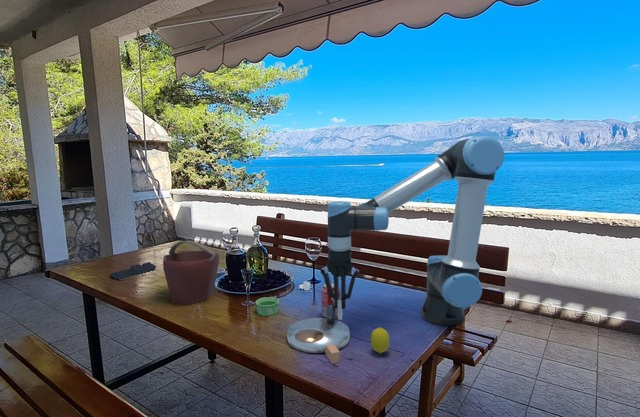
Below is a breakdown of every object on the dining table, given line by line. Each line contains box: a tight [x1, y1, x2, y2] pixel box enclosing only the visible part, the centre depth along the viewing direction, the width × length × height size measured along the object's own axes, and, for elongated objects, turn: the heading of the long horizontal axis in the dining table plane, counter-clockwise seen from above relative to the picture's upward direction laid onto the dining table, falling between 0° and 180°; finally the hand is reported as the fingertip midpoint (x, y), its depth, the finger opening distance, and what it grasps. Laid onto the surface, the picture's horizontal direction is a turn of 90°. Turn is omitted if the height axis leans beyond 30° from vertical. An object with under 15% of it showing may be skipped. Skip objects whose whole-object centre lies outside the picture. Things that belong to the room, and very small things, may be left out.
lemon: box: [370, 327, 391, 355], centre depth 106 cm, size 6×6×8 cm
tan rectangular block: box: [325, 344, 341, 364], centre depth 104 cm, size 5×2×3 cm, turn 18°
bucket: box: [162, 240, 220, 306], centre depth 153 cm, size 24×22×25 cm
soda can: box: [321, 282, 341, 319], centre depth 134 cm, size 7×7×12 cm
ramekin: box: [255, 296, 280, 317], centre depth 139 cm, size 9×9×4 cm
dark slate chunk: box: [109, 261, 157, 280], centre depth 192 cm, size 15×22×5 cm
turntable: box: [286, 304, 351, 354], centre depth 116 cm, size 20×20×8 cm
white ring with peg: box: [298, 281, 311, 292], centre depth 165 cm, size 9×8×4 cm
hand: (340, 317), depth 121 cm, fingers closed
